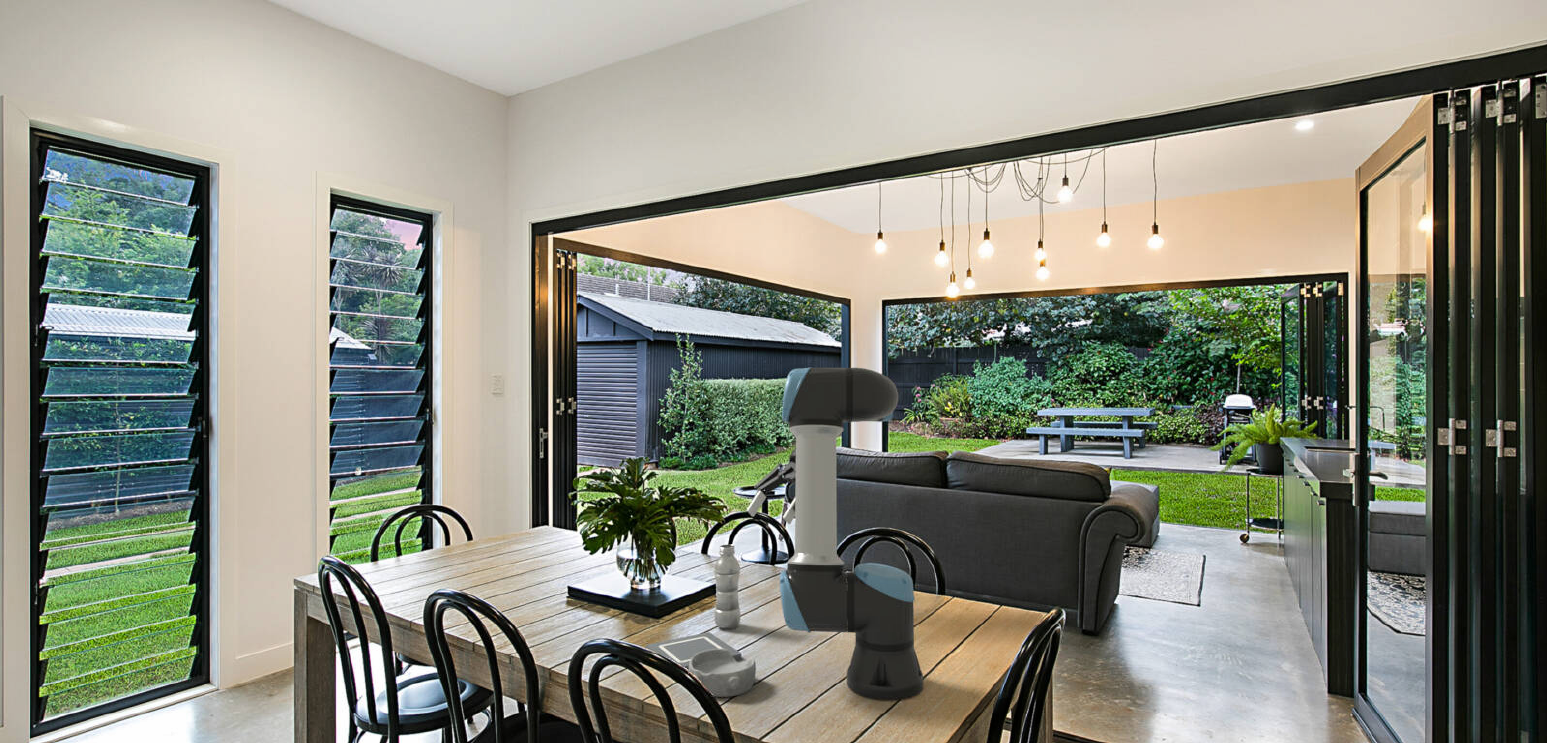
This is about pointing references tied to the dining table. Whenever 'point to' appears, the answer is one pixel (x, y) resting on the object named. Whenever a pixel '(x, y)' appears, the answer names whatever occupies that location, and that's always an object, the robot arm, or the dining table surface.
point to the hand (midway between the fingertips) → (767, 517)
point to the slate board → (690, 647)
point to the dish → (722, 672)
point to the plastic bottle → (727, 588)
